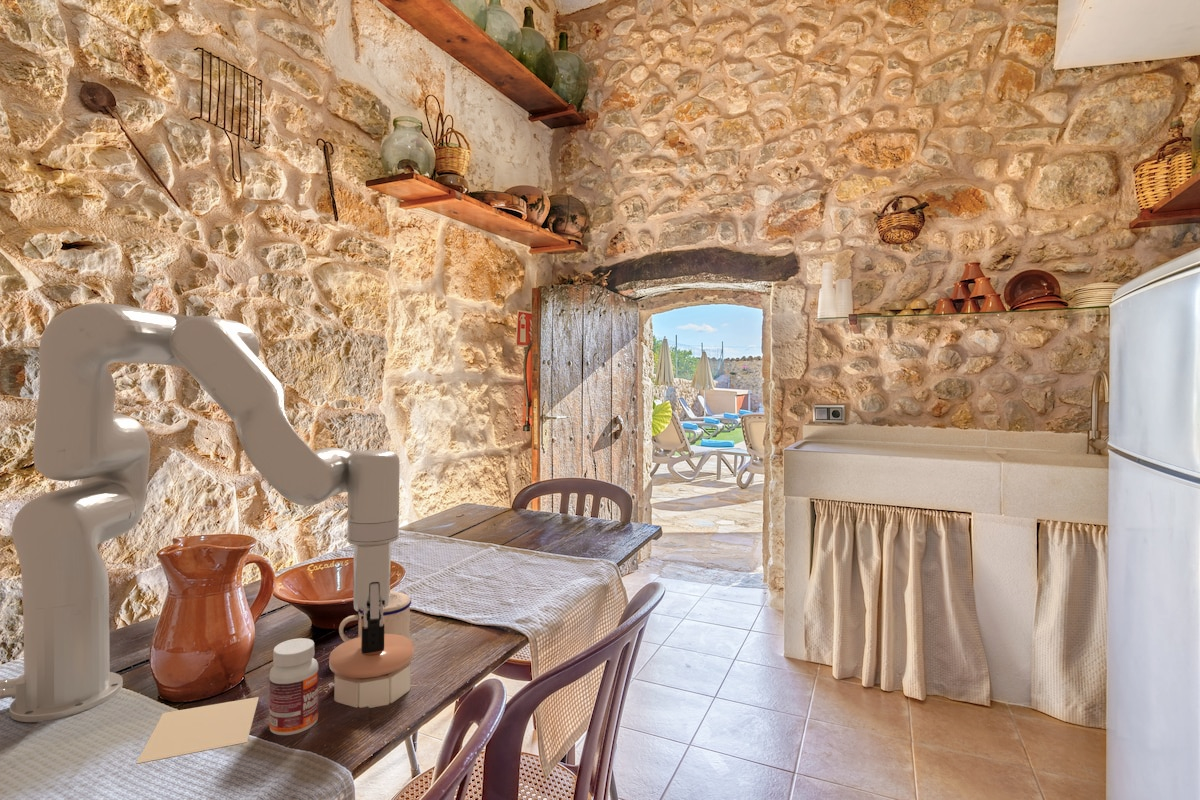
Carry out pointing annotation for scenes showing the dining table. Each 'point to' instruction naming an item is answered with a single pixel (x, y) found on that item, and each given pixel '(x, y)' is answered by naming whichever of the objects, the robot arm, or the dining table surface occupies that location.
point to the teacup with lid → (387, 616)
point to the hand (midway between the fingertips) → (372, 644)
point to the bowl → (372, 688)
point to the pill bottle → (293, 687)
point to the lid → (371, 657)
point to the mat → (200, 729)
